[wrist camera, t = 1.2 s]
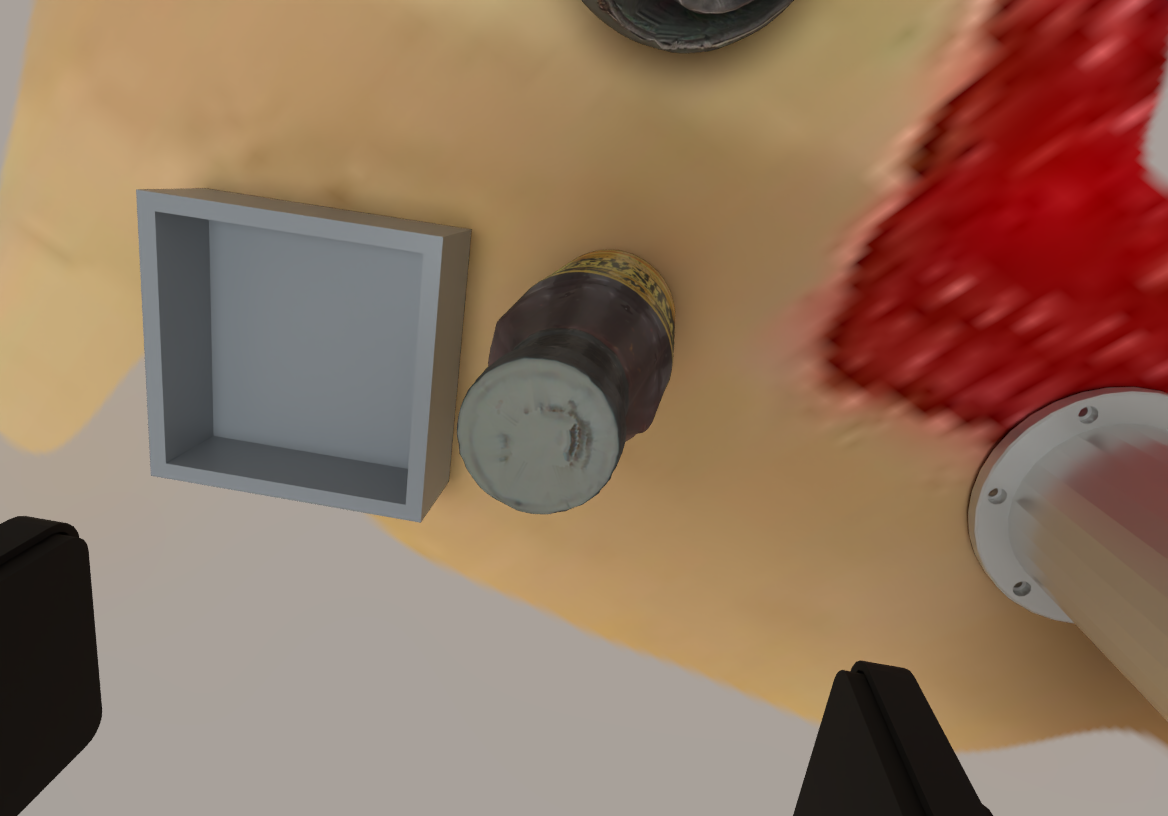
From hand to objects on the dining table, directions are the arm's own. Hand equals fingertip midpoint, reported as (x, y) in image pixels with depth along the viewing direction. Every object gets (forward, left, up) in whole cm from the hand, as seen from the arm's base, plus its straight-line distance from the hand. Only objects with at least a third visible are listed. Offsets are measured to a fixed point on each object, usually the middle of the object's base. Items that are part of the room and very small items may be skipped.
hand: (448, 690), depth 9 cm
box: (+14, +4, -28) cm, 32 cm away
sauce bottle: (0, 0, -29) cm, 29 cm away
